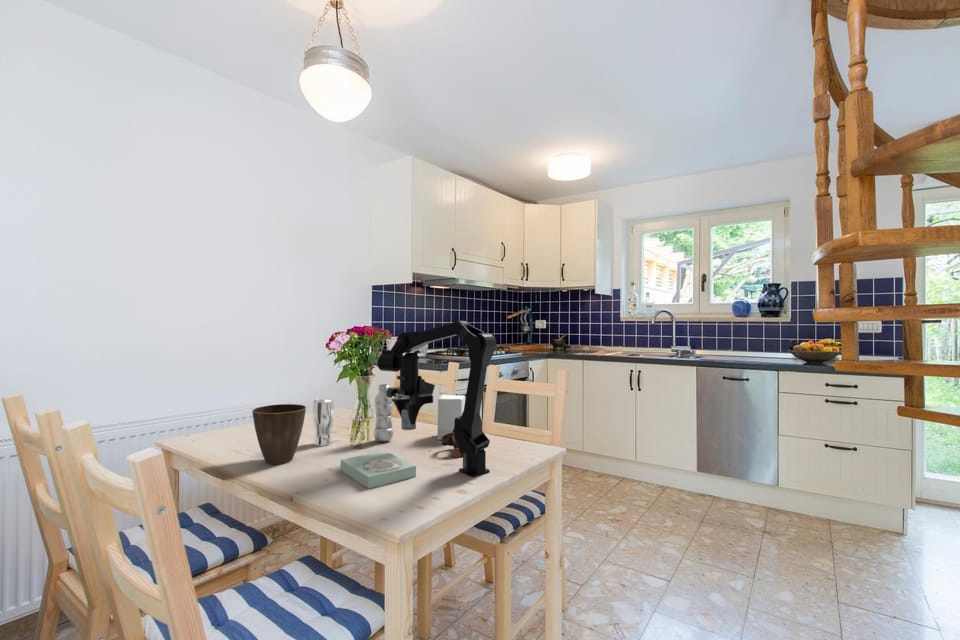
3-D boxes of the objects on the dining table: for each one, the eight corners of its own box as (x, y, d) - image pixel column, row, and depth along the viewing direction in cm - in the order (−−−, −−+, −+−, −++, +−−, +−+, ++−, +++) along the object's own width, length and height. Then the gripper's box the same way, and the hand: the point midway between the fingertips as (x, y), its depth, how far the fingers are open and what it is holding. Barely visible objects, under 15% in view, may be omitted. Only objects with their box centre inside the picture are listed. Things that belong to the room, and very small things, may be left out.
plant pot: (258, 455, 139) (258, 404, 139) (308, 451, 143) (308, 402, 143) (246, 470, 125) (246, 414, 125) (302, 466, 129) (302, 411, 129)
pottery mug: (445, 460, 137) (438, 435, 140) (446, 465, 145) (439, 441, 149) (482, 449, 139) (474, 424, 142) (480, 454, 147) (473, 430, 151)
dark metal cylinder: (418, 428, 135) (418, 409, 135) (406, 430, 132) (406, 410, 132) (411, 425, 139) (411, 406, 139) (398, 428, 136) (398, 408, 136)
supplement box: (461, 441, 157) (461, 399, 157) (437, 440, 158) (437, 398, 158) (465, 434, 166) (465, 395, 166) (441, 433, 167) (442, 394, 167)
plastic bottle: (372, 439, 158) (373, 384, 158) (391, 438, 161) (392, 383, 161) (375, 444, 152) (375, 386, 152) (394, 442, 155) (395, 385, 155)
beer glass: (312, 442, 155) (313, 399, 155) (333, 440, 157) (334, 398, 157) (311, 447, 148) (311, 402, 148) (333, 445, 150) (333, 402, 150)
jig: (415, 476, 121) (416, 465, 121) (368, 488, 112) (368, 477, 112) (384, 460, 135) (384, 450, 135) (340, 470, 126) (340, 459, 126)
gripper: (448, 373, 134) (447, 425, 134) (415, 368, 148) (415, 414, 148) (416, 376, 126) (416, 430, 126) (385, 370, 141) (385, 419, 141)
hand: (408, 423), depth 136 cm, fingers closed on dark metal cylinder, 4 cm apart
